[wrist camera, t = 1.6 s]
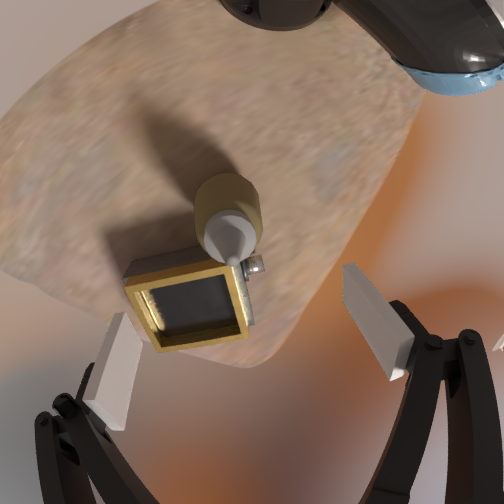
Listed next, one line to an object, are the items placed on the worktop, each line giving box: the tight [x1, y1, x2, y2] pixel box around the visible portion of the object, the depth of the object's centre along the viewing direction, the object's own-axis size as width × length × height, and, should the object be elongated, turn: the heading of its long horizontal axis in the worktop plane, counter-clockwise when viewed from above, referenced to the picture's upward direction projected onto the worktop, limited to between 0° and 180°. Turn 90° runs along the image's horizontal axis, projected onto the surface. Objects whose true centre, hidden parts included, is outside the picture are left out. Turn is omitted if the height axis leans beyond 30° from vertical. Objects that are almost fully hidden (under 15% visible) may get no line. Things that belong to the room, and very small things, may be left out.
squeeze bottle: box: [194, 173, 263, 267], centre depth 29 cm, size 8×8×18 cm
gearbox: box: [123, 246, 265, 353], centre depth 39 cm, size 19×12×8 cm, turn 101°
